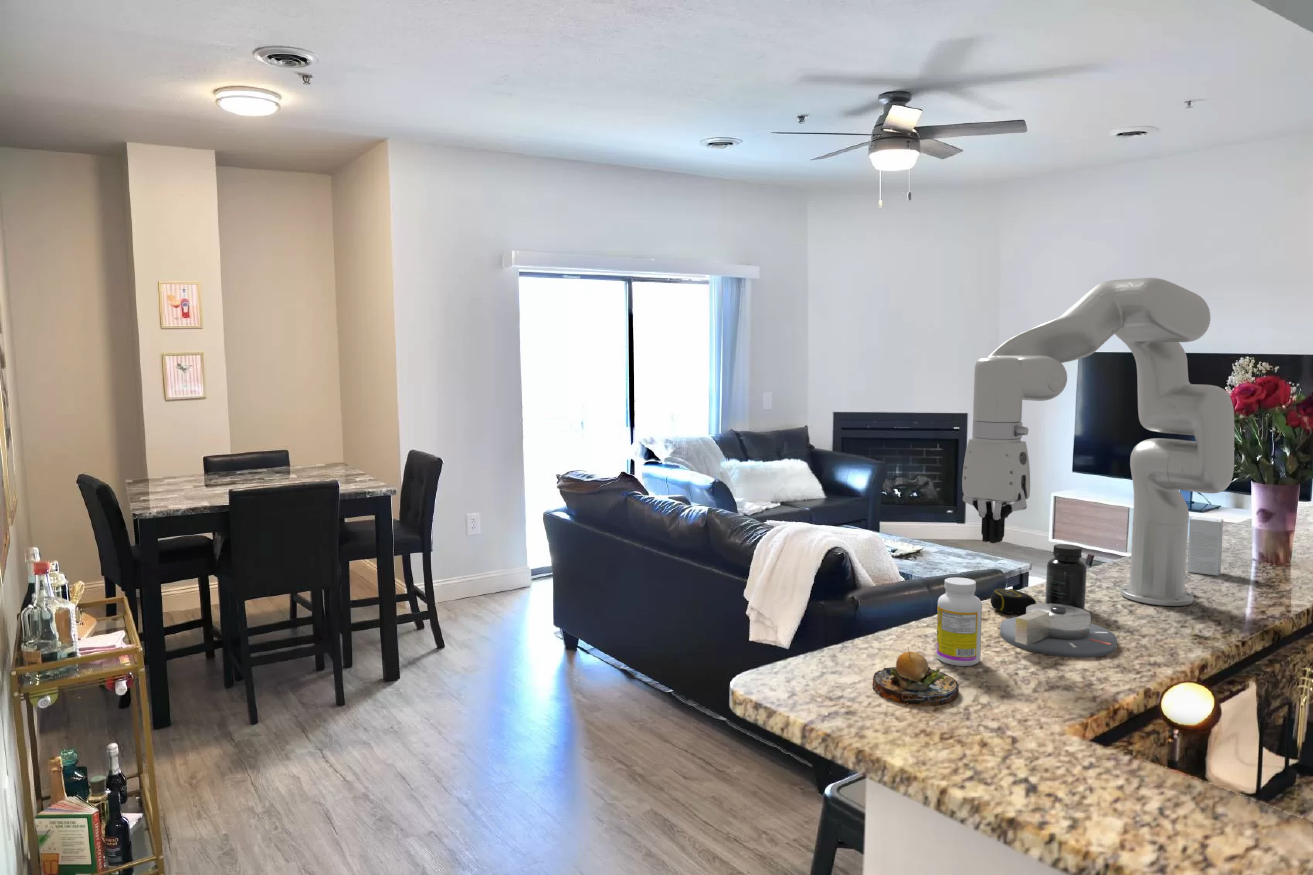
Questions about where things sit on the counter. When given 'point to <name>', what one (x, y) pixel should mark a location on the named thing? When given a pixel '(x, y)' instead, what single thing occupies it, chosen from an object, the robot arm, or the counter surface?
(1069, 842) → the counter surface
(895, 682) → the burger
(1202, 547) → the skincare box
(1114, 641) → the base plate
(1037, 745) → the counter surface
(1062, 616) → the dial
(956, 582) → the supplement bottle
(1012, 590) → the tape measure
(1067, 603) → the supplement bottle
